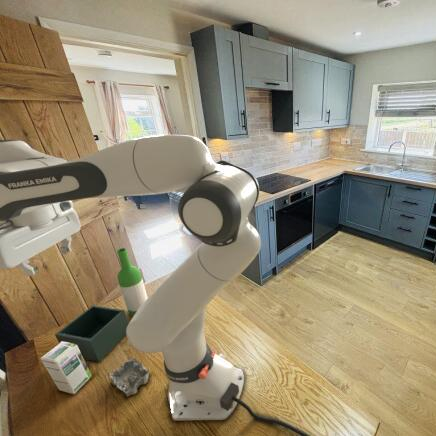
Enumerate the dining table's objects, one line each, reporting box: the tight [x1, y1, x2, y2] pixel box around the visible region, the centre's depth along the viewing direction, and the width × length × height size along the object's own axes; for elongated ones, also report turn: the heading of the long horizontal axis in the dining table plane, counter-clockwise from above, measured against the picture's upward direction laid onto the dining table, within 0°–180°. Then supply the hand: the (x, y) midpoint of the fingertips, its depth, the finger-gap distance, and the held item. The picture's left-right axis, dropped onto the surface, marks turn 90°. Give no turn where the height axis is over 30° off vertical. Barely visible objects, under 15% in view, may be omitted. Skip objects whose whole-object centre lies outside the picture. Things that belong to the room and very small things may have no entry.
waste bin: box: [54, 304, 130, 363], centre depth 85 cm, size 14×14×10 cm
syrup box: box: [40, 341, 93, 395], centre depth 71 cm, size 6×6×14 cm
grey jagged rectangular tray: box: [107, 357, 150, 397], centre depth 74 cm, size 11×8×4 cm
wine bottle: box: [116, 247, 149, 317], centre depth 95 cm, size 8×8×30 cm
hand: (51, 262), depth 61 cm, fingers open, 8 cm apart
